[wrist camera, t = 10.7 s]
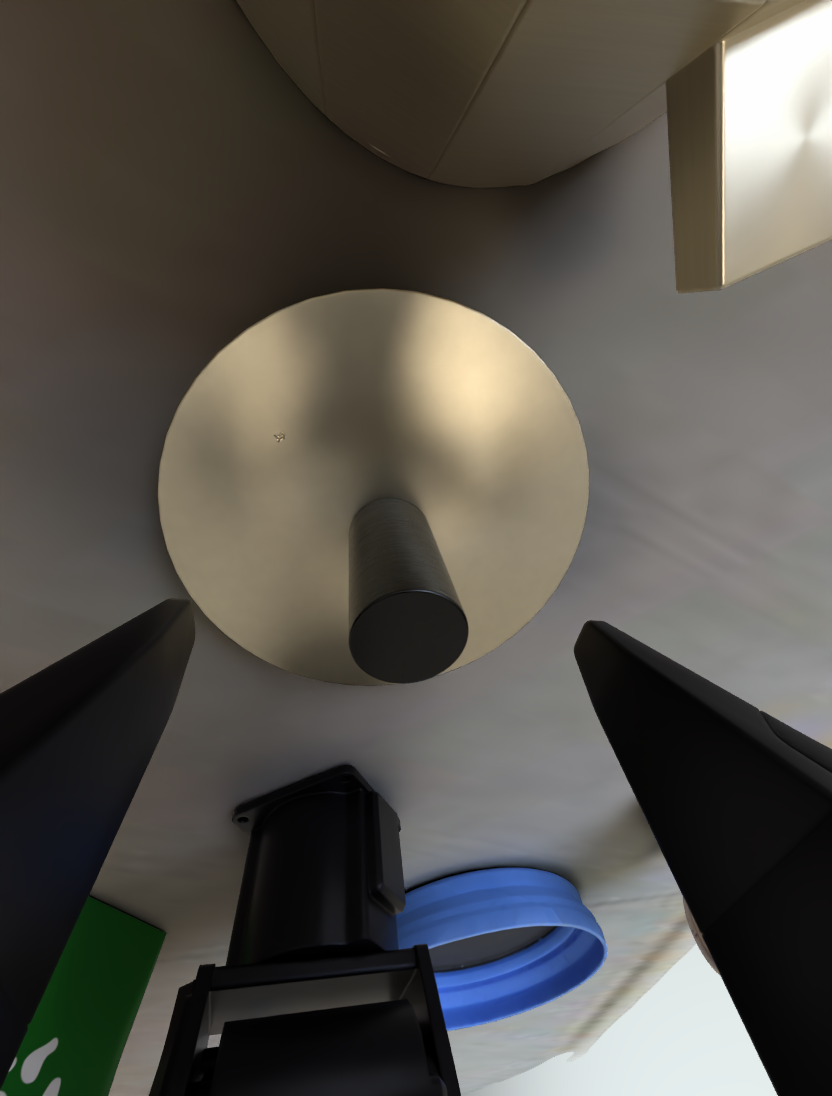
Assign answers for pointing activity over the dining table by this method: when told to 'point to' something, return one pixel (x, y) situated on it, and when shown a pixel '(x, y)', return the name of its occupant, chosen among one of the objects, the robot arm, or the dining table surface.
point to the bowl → (502, 941)
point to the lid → (373, 487)
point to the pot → (590, 102)
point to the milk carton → (87, 1007)
